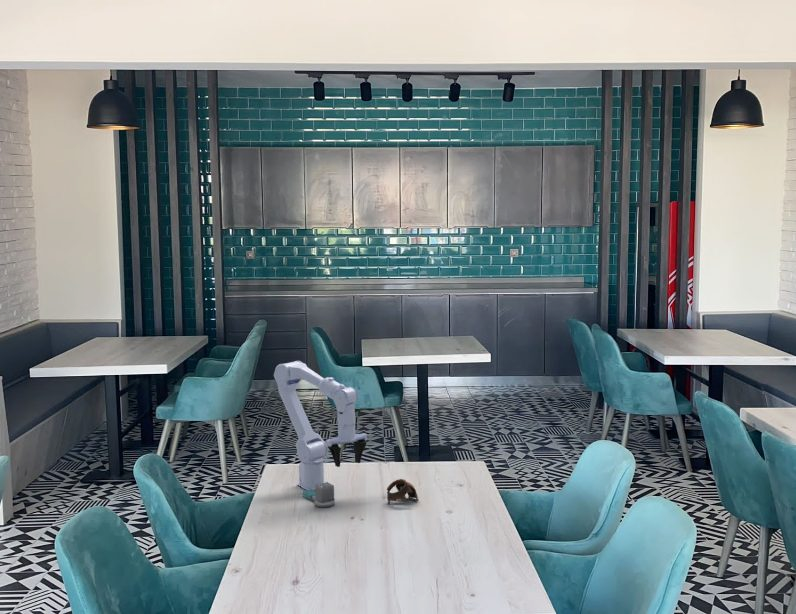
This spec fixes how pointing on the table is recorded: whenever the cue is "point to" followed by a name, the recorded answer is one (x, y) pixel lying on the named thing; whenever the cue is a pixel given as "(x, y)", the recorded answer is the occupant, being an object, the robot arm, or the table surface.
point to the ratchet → (312, 496)
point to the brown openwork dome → (401, 490)
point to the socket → (324, 492)
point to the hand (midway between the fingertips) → (347, 464)
